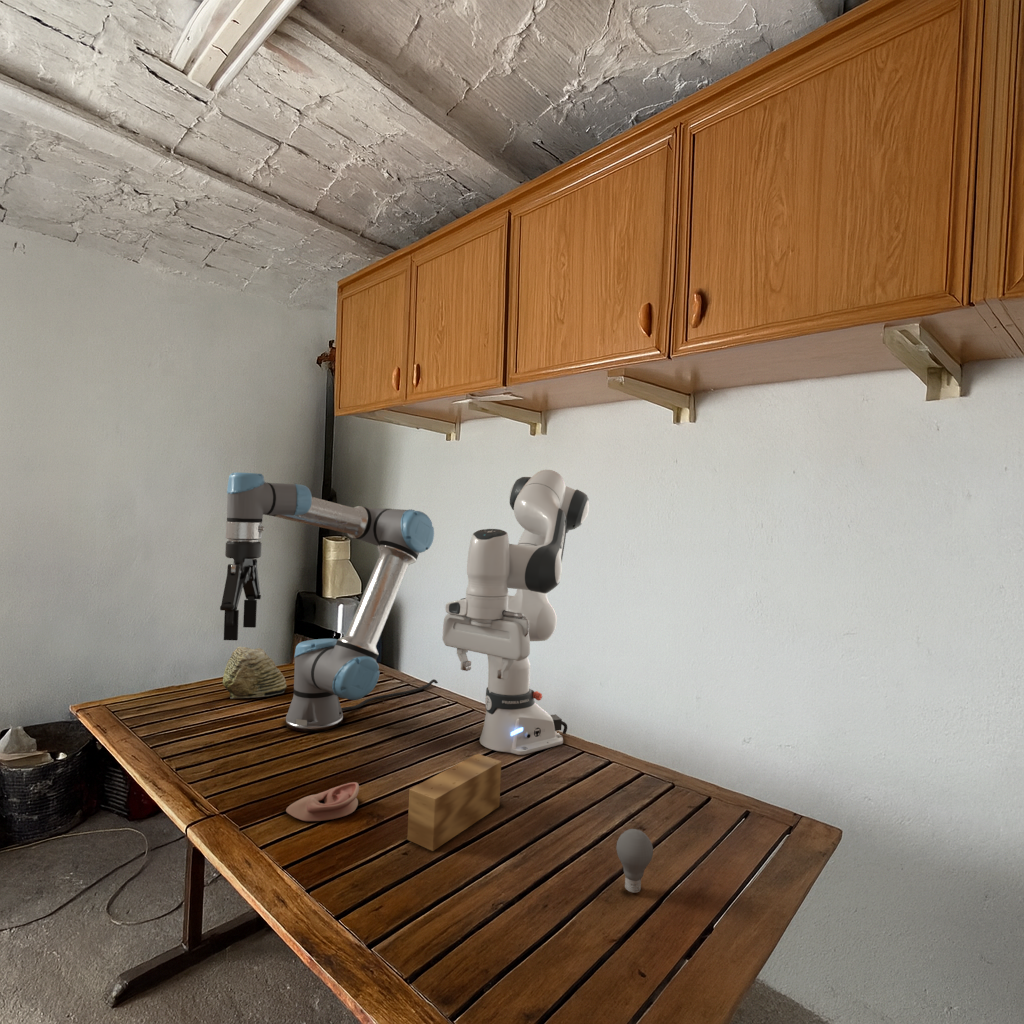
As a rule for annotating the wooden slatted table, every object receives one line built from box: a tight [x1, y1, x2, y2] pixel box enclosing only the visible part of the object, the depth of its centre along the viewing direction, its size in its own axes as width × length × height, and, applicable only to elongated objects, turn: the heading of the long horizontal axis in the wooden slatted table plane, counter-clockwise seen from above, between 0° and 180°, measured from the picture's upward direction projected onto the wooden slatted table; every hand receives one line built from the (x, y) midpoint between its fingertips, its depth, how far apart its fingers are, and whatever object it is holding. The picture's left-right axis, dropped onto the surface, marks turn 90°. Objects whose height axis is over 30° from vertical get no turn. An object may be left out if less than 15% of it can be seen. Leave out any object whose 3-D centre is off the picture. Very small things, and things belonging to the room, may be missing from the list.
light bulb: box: [615, 828, 654, 894], centre depth 106 cm, size 6×6×10 cm
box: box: [406, 753, 502, 852], centre depth 126 cm, size 21×6×10 cm, turn 147°
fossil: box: [222, 646, 288, 699], centre depth 198 cm, size 9×18×15 cm, turn 132°
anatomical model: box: [285, 781, 360, 822], centre depth 129 cm, size 13×4×12 cm
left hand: (240, 633), depth 144 cm, fingers open, 13 cm apart
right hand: (483, 674), depth 131 cm, fingers open, 8 cm apart
